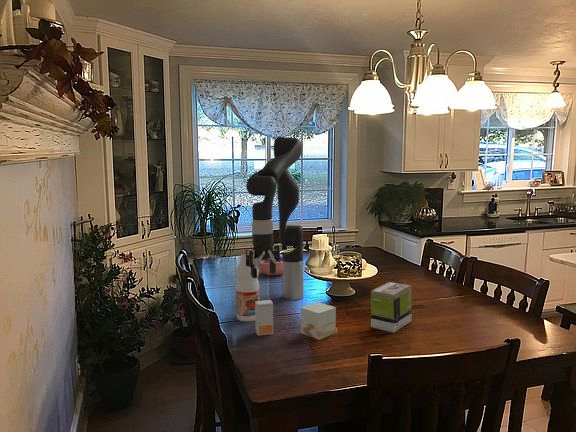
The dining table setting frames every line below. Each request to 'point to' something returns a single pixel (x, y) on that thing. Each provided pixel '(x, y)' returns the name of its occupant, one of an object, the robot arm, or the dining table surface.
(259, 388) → the dining table surface
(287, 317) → the dining table surface
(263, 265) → the cell model
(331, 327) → the lower block
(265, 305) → the skincare box
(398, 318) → the tea box
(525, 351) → the dining table surface
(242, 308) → the fruit juice
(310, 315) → the upper block
